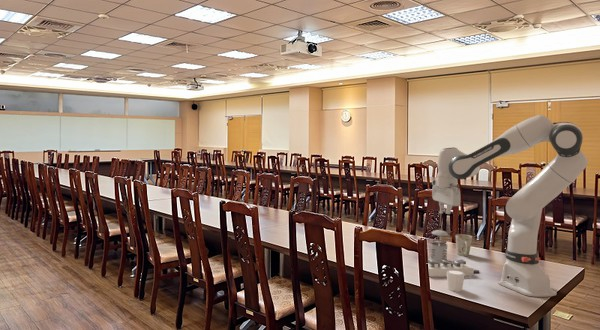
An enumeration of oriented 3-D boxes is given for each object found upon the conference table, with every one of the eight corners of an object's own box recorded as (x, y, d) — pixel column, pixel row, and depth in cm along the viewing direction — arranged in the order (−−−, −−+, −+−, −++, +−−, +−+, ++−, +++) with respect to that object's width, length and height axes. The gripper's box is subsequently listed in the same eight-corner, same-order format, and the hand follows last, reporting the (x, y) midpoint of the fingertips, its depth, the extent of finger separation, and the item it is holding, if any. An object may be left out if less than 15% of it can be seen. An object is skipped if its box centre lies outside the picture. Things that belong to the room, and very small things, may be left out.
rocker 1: (439, 266, 197) (440, 263, 197) (430, 264, 196) (431, 261, 196) (436, 264, 200) (437, 261, 200) (427, 262, 199) (428, 259, 199)
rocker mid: (452, 266, 198) (453, 263, 198) (443, 264, 197) (444, 261, 197) (449, 264, 201) (449, 261, 201) (440, 262, 200) (440, 259, 200)
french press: (428, 261, 218) (430, 211, 217) (428, 255, 229) (430, 208, 228) (448, 263, 215) (451, 213, 214) (448, 257, 226) (450, 209, 225)
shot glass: (449, 285, 183) (450, 268, 183) (466, 289, 179) (467, 272, 179) (443, 289, 178) (444, 272, 178) (460, 293, 174) (461, 276, 173)
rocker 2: (466, 264, 199) (465, 261, 199) (456, 266, 198) (456, 263, 198) (462, 262, 202) (461, 259, 202) (453, 264, 201) (452, 261, 201)
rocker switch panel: (483, 275, 198) (484, 264, 198) (427, 276, 194) (427, 265, 193) (473, 270, 206) (474, 259, 206) (419, 271, 202) (420, 260, 201)
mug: (468, 252, 238) (469, 234, 237) (475, 259, 225) (476, 240, 225) (452, 252, 239) (453, 233, 238) (458, 258, 226) (460, 239, 226)
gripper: (465, 185, 191) (463, 217, 192) (442, 180, 211) (441, 209, 212) (451, 185, 190) (449, 217, 191) (430, 180, 210) (428, 209, 211)
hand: (445, 212), depth 202 cm, fingers open, 4 cm apart
